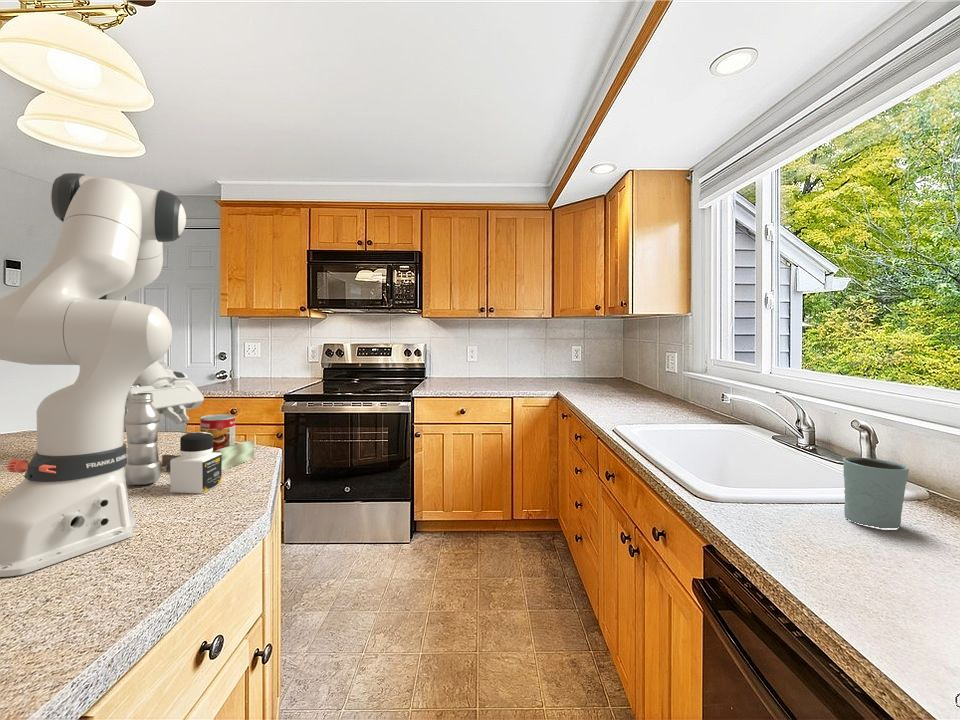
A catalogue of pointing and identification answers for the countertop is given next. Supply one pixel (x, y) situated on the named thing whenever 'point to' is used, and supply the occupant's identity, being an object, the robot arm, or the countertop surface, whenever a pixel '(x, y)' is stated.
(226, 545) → the countertop surface
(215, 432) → the canned food
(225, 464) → the trap lane
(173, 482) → the medicine bottle
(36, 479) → the robot arm
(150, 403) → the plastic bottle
